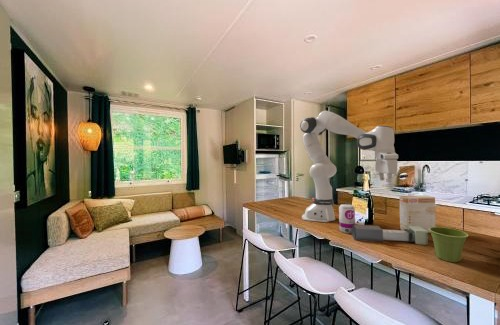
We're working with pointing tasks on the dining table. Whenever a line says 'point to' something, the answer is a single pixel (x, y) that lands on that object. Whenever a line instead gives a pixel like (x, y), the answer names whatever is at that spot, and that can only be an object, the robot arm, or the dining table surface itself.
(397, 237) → the slip tube
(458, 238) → the plant pot
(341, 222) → the supplement can
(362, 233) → the sleeve
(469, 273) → the dining table surface
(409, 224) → the coffeecake box
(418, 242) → the socket
